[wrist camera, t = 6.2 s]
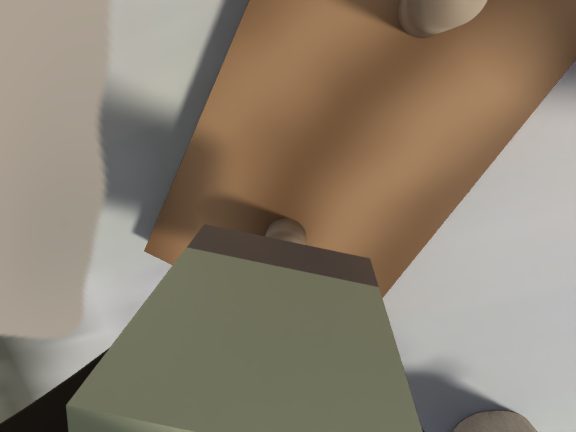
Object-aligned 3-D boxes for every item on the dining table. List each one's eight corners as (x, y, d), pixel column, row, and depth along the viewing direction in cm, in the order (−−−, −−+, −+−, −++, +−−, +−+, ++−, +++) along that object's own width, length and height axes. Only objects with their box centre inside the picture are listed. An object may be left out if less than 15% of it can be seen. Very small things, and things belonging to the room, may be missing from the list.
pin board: (620, -22, 13) (752, -66, 9) (340, 333, 20) (346, 394, 16) (350, -218, 11) (368, -370, 8) (154, 240, 19) (112, 283, 15)
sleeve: (370, 258, 10) (438, 481, 4) (329, 379, 12) (342, 641, 6) (204, 223, 10) (66, 405, 4) (190, 350, 12) (82, 588, 6)
